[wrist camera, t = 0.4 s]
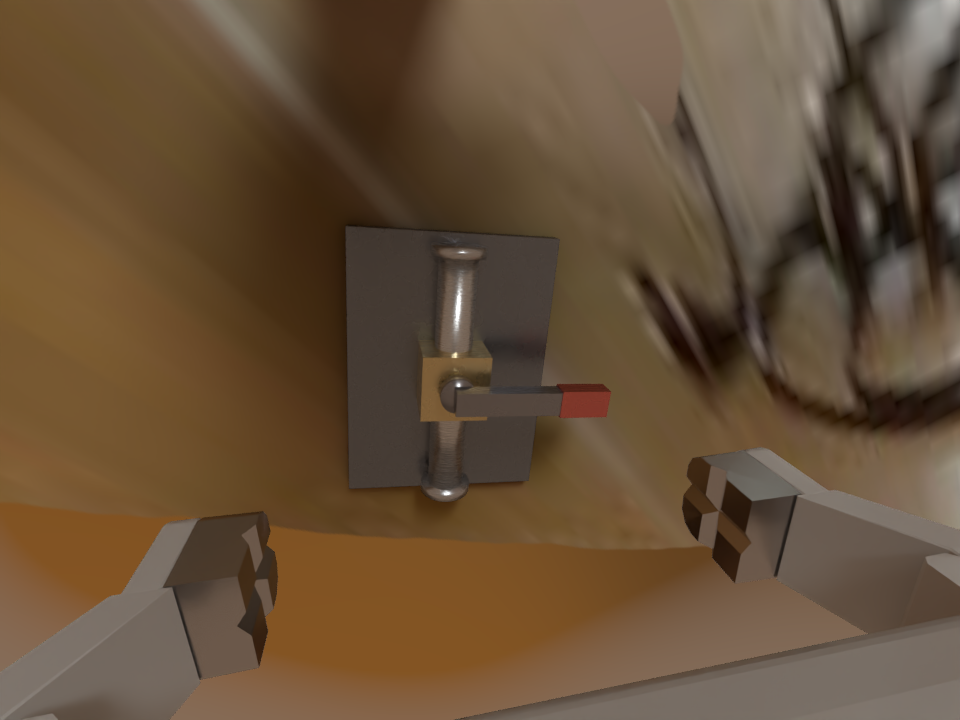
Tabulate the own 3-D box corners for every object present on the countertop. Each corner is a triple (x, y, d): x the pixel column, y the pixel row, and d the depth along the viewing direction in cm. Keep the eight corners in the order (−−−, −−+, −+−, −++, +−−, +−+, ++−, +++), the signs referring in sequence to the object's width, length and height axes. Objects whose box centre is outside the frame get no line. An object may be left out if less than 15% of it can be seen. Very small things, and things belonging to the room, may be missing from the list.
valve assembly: (346, 224, 50) (341, 232, 43) (555, 237, 54) (579, 246, 47) (349, 481, 60) (346, 519, 53) (525, 474, 64) (542, 508, 58)
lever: (438, 407, 50) (442, 423, 47) (439, 374, 49) (444, 389, 46) (592, 405, 54) (605, 420, 51) (597, 374, 53) (611, 388, 49)
